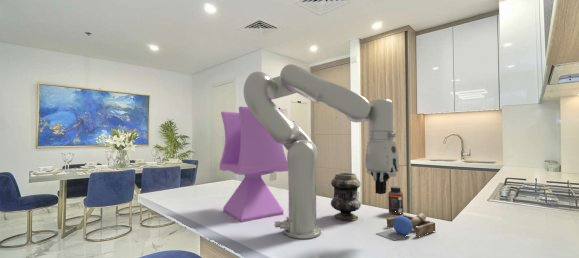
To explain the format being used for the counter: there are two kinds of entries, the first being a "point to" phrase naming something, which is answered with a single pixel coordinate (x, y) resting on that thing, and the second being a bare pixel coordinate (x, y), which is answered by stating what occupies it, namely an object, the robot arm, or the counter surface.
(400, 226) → the ball
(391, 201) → the supplement bottle
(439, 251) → the counter surface
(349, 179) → the apothecary jar
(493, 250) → the counter surface
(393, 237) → the translucent flat square slab
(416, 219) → the pin
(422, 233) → the wooden tray
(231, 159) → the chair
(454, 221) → the counter surface
